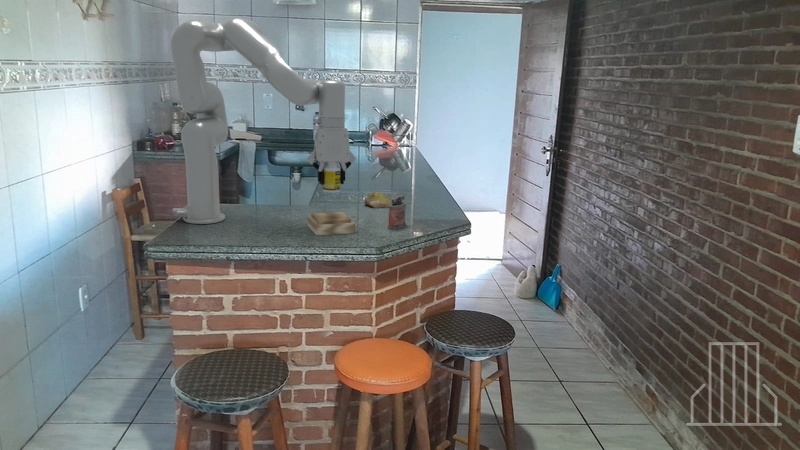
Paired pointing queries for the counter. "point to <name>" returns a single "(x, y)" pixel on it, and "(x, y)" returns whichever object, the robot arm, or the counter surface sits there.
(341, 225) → the plinth
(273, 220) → the counter surface
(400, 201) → the lighter
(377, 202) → the rock
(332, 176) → the supplement bottle
